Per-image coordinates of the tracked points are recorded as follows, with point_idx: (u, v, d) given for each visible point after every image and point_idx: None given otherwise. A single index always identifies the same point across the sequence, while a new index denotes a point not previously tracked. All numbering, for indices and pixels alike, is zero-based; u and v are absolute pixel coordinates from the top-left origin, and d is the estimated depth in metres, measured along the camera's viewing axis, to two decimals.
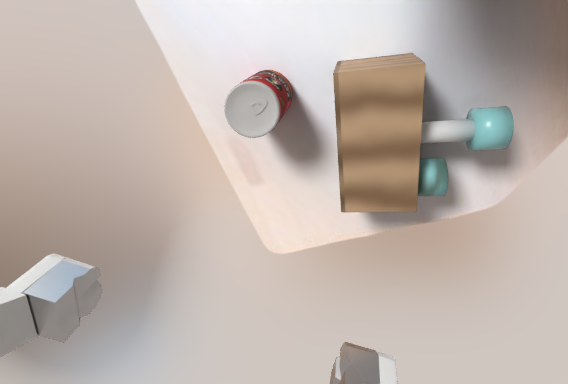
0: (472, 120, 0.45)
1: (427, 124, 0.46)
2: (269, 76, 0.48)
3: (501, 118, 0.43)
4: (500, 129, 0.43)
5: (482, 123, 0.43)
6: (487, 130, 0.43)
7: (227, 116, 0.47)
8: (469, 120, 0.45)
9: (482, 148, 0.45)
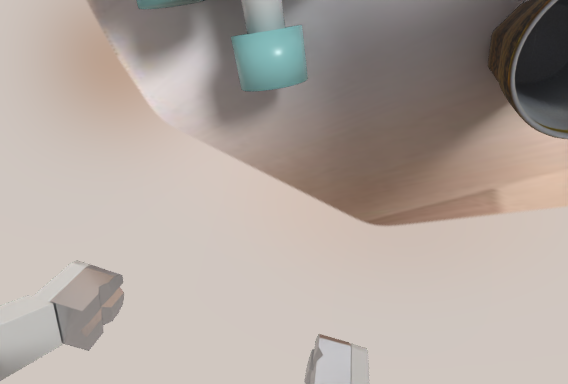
0: (282, 26, 0.25)
1: None
2: None
3: (290, 67, 0.25)
4: (273, 68, 0.25)
5: (280, 37, 0.24)
6: (269, 47, 0.24)
7: None
8: (282, 21, 0.25)
9: (236, 52, 0.26)
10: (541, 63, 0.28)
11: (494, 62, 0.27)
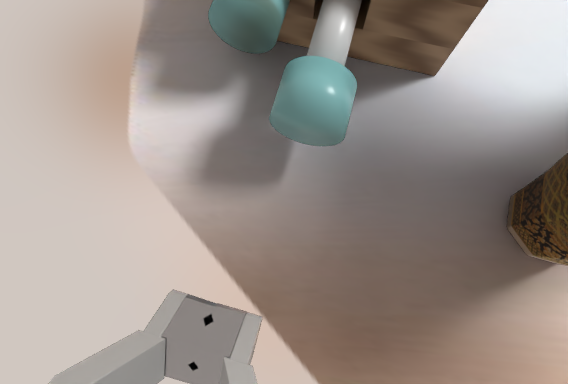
0: None
1: (355, 16, 0.26)
2: None
3: (340, 104, 0.22)
4: (325, 93, 0.22)
5: (343, 73, 0.23)
6: (329, 74, 0.22)
7: None
8: None
9: (288, 73, 0.23)
10: None
11: (526, 209, 0.25)
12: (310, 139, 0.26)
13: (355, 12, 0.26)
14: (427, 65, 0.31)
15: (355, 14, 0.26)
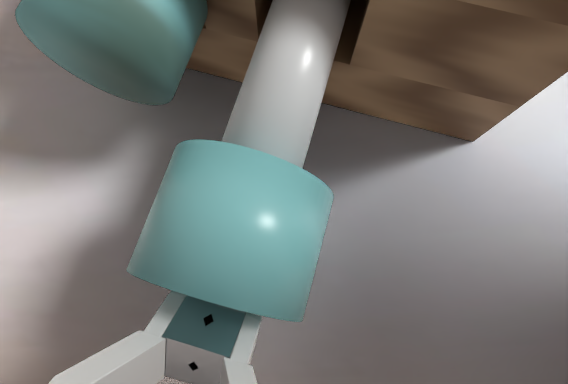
0: None
1: (333, 40, 0.12)
2: None
3: (287, 267, 0.09)
4: (245, 246, 0.08)
5: (296, 184, 0.09)
6: (259, 192, 0.09)
7: None
8: None
9: (169, 176, 0.10)
10: None
11: None
12: None
13: (334, 32, 0.12)
14: (463, 127, 0.18)
15: (334, 36, 0.12)
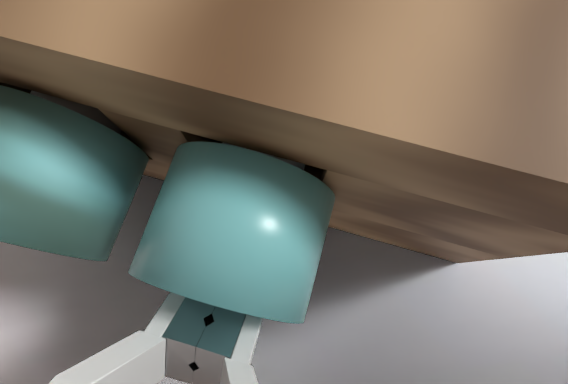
0: None
1: None
2: None
3: (289, 269, 0.09)
4: (246, 249, 0.08)
5: (297, 187, 0.09)
6: (260, 194, 0.09)
7: None
8: None
9: (170, 178, 0.10)
10: None
11: None
12: None
13: None
14: (444, 254, 0.16)
15: None
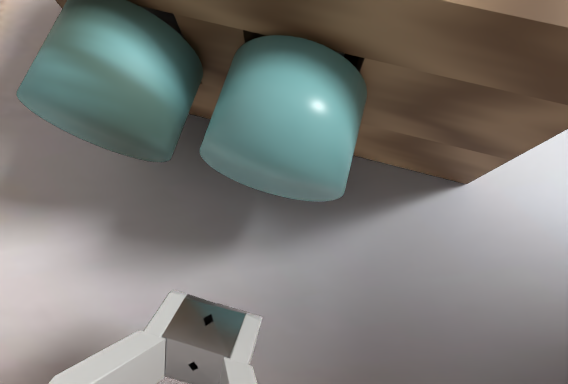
0: None
1: None
2: None
3: (336, 134, 0.11)
4: (304, 111, 0.10)
5: (341, 70, 0.11)
6: (313, 72, 0.11)
7: None
8: None
9: (234, 70, 0.12)
10: None
11: None
12: (282, 189, 0.14)
13: None
14: (456, 172, 0.18)
15: None
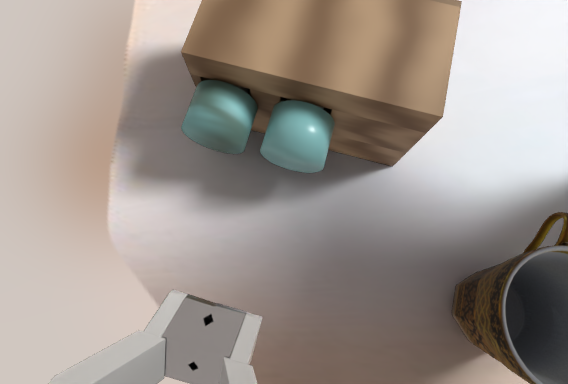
0: None
1: None
2: None
3: (320, 142, 0.27)
4: (307, 133, 0.26)
5: (322, 115, 0.27)
6: (310, 116, 0.27)
7: None
8: None
9: (276, 114, 0.28)
10: None
11: (464, 307, 0.28)
12: (295, 166, 0.30)
13: None
14: (385, 159, 0.34)
15: None
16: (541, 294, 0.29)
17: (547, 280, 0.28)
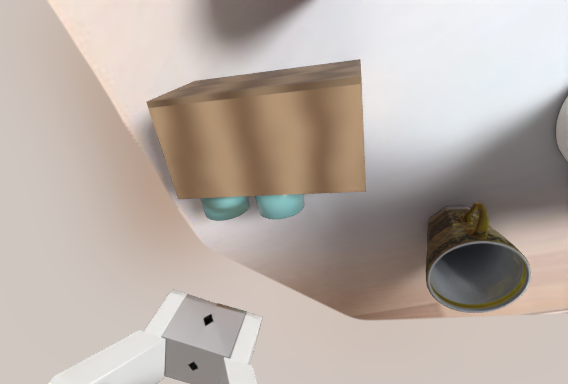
0: None
1: None
2: None
3: (292, 205, 0.38)
4: (281, 207, 0.37)
5: None
6: (278, 196, 0.37)
7: None
8: None
9: None
10: None
11: None
12: None
13: None
14: None
15: None
16: None
17: None
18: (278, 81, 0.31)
